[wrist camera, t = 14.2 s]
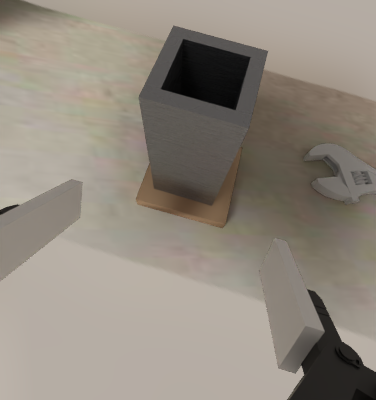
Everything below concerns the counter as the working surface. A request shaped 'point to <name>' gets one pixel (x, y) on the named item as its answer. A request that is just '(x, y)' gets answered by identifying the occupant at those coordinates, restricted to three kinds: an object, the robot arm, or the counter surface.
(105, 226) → the counter surface
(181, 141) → the grey square tube
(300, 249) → the counter surface
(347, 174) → the adjustable wrench
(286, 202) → the counter surface
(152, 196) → the drive block
